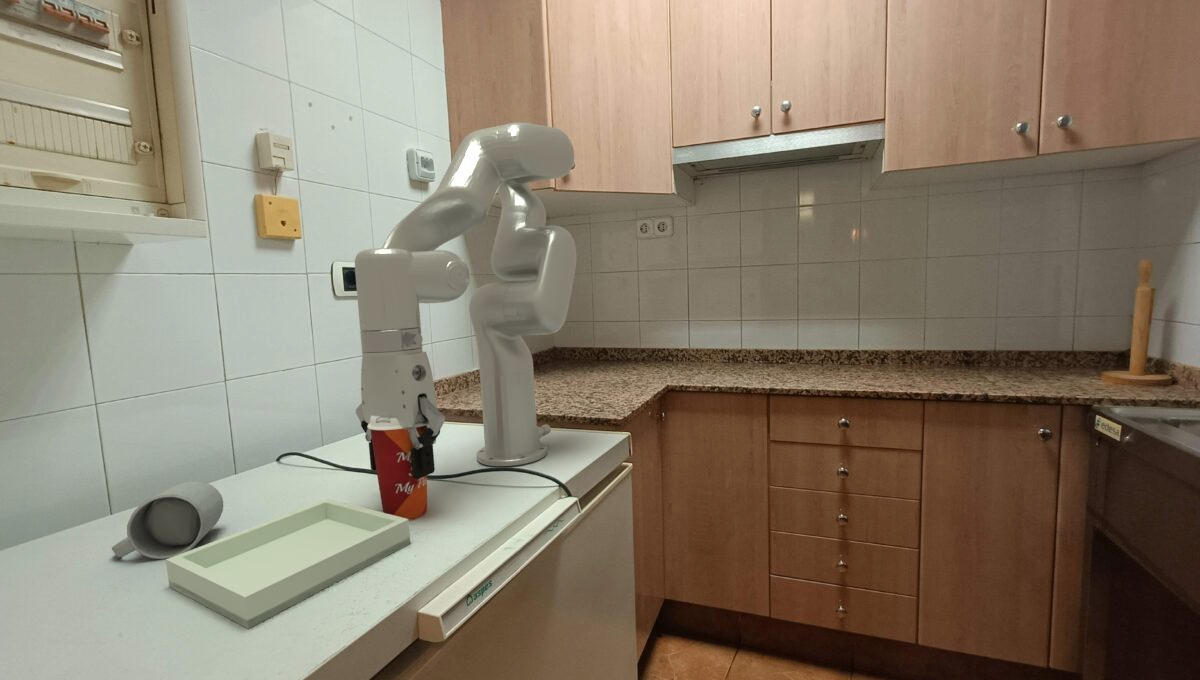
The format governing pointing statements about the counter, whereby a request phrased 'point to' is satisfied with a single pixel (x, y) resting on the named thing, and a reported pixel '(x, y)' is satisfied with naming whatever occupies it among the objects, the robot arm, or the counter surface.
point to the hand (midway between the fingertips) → (402, 470)
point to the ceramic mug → (172, 521)
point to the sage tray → (285, 559)
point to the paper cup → (397, 469)
